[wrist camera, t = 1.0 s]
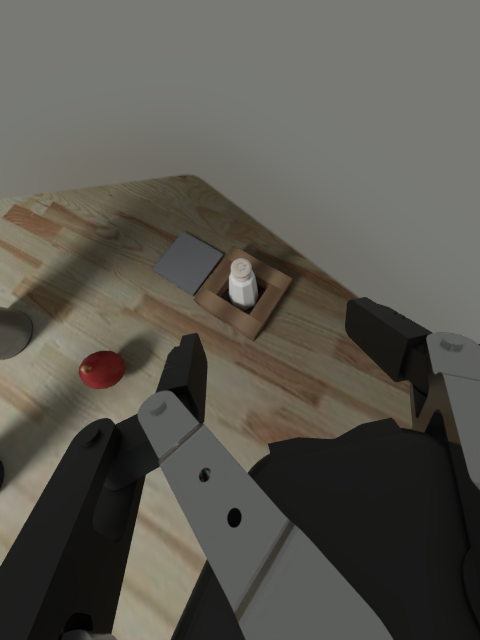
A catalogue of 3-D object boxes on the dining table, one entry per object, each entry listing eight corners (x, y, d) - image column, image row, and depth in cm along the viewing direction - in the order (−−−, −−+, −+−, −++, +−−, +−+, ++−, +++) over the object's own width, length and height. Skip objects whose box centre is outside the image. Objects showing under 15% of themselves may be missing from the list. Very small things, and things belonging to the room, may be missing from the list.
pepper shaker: (223, 297, 37) (212, 268, 27) (242, 277, 38) (239, 241, 27) (244, 316, 36) (242, 293, 25) (264, 295, 37) (270, 264, 26)
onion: (99, 387, 34) (55, 391, 27) (105, 353, 36) (64, 348, 28) (132, 386, 34) (98, 391, 26) (136, 352, 35) (105, 347, 28)
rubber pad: (153, 270, 39) (151, 269, 39) (183, 233, 41) (183, 231, 41) (193, 296, 38) (192, 295, 37) (223, 255, 39) (223, 254, 39)
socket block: (198, 306, 37) (193, 299, 34) (235, 256, 39) (233, 245, 36) (253, 341, 35) (254, 338, 31) (288, 287, 37) (292, 278, 34)
